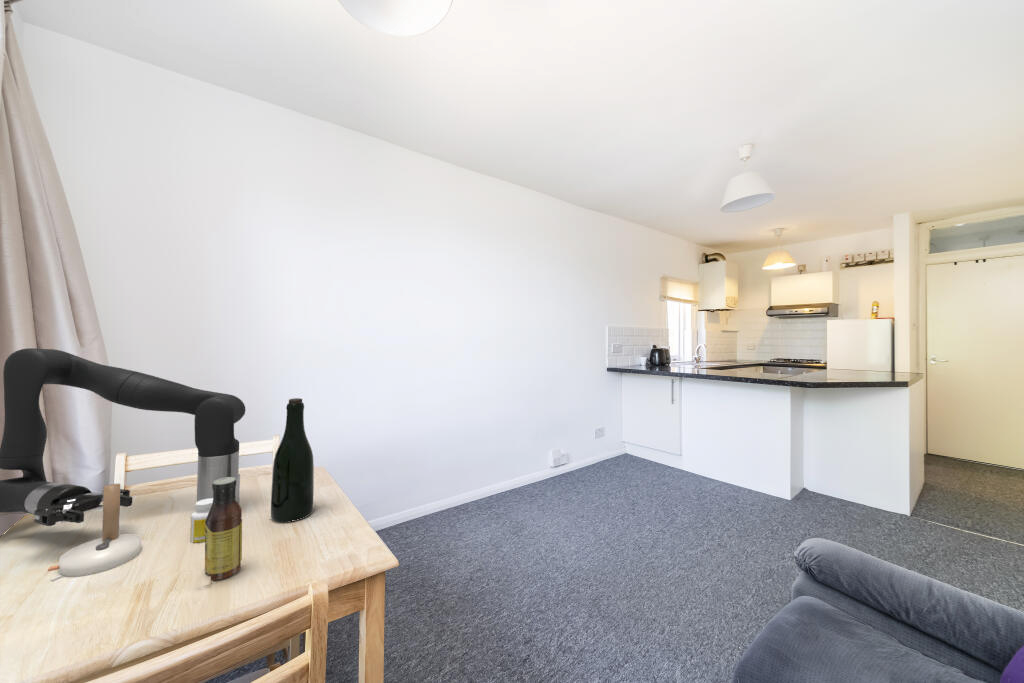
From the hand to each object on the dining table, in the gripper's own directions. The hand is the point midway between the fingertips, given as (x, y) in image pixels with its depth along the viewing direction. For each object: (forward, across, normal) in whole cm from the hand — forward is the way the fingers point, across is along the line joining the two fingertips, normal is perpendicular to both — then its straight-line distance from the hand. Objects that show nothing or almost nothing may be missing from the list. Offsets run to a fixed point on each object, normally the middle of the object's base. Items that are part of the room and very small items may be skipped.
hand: (107, 509), depth 86 cm
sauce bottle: (+32, +2, +10) cm, 34 cm away
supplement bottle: (+16, +10, +10) cm, 21 cm away
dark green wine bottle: (+24, +28, +10) cm, 38 cm away
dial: (+5, -3, +9) cm, 11 cm away
